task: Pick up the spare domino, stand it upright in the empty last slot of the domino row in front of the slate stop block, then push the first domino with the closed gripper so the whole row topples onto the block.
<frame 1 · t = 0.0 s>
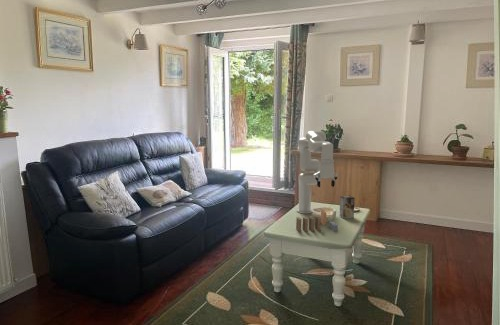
hand: (325, 186, 240), 31 cm above the table, tool pointing down, fingers open, 9 cm apart
stop block: (333, 228, 249), on the table
domino 4: (317, 229, 248), on the table
domino 2: (304, 230, 246), on the table
domino 1: (298, 230, 246), on the table
spare domino: (323, 223, 261), on the table
domino 3: (311, 230, 247), on the table
coffee box: (346, 217, 276), on the table
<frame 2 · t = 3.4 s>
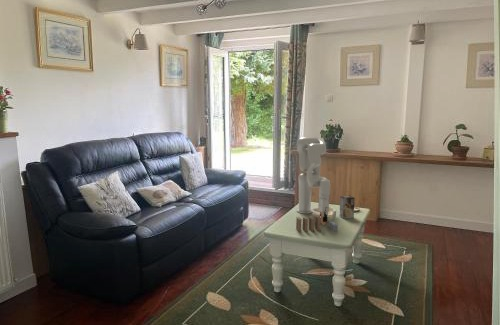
hand: (323, 220, 260), 3 cm above the table, tool pointing down, fingers closed on spare domino, 5 cm apart
spare domino: (323, 223, 261), on the table, touching gripper
everything else where it was.
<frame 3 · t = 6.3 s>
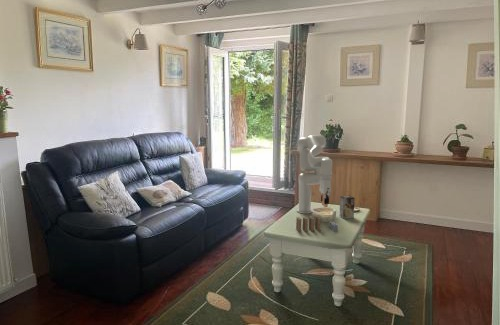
hand: (324, 202, 245), 19 cm above the table, tool pointing down, fingers closed on spare domino, 5 cm apart
spare domino: (324, 205, 246), point 17 cm above the table, touching gripper
everything else where it was.
when the fingers open (4 cm above the table, at t = 9.5 s): spare domino drops 1 cm, on the table.
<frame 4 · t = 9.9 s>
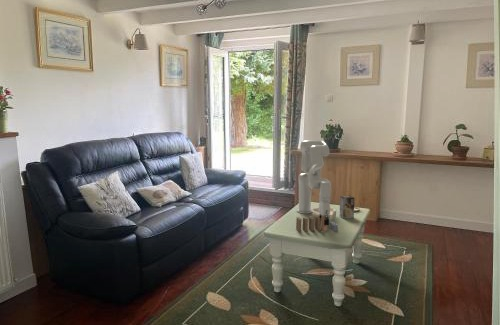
hand: (324, 222, 248), 5 cm above the table, tool pointing down, fingers open, 9 cm apart
spare domino: (323, 229, 249), on the table
everything else where it was.
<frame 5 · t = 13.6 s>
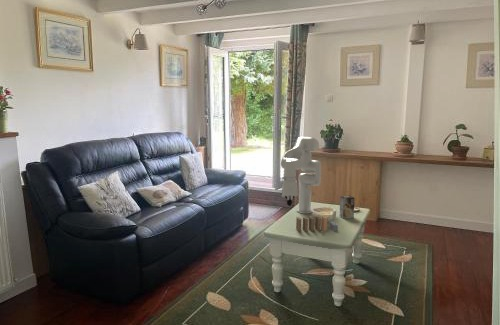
hand: (289, 205, 242), 18 cm above the table, tool pointing down, fingers closed
nothing on the table moved.
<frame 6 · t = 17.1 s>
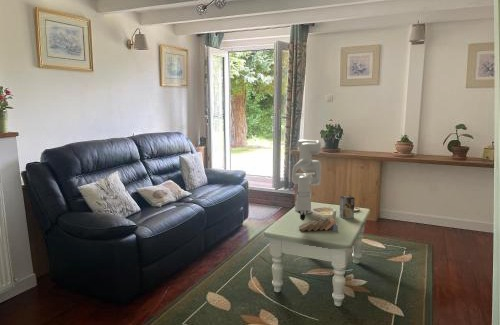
hand: (302, 219, 245), 8 cm above the table, tool pointing down, fingers closed
domino 4: (318, 228, 248), point 1 cm above the table, tilted 52°, touching spare domino
domino 2: (306, 228, 247), point 1 cm above the table, tilted 60°, touching domino 1, domino 3
domino 1: (300, 229, 246), point 1 cm above the table, tilted 61°, touching domino 2
spare domino: (324, 228, 248), point 1 cm above the table, tilted 49°, touching domino 4, stop block
domino 3: (312, 228, 247), point 1 cm above the table, tilted 57°, touching domino 2
everything else where it was.
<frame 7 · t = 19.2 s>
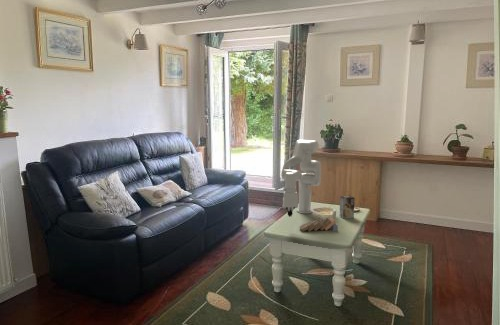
hand: (290, 215, 246), 10 cm above the table, tool pointing down, fingers closed
domino 4: (319, 228, 248), point 1 cm above the table, tilted 50°, touching domino 3, spare domino
domino 2: (307, 229, 247), point 1 cm above the table, tilted 59°, touching domino 1, domino 3
domino 3: (313, 228, 247), point 1 cm above the table, tilted 57°, touching domino 2, domino 4
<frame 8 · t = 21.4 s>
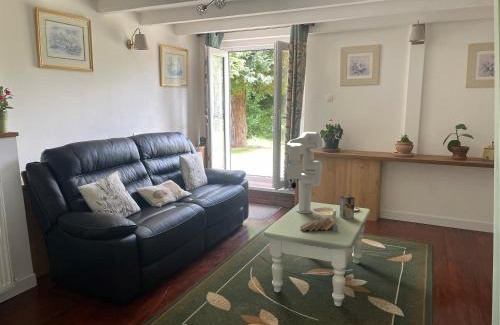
hand: (293, 188, 253), 27 cm above the table, tool pointing down, fingers closed
at the end: spare domino tilted 49°; spare domino inside the target area (1.2 cm from its centre), point 0.8 cm above the table; domino 4 tilted 49° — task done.
